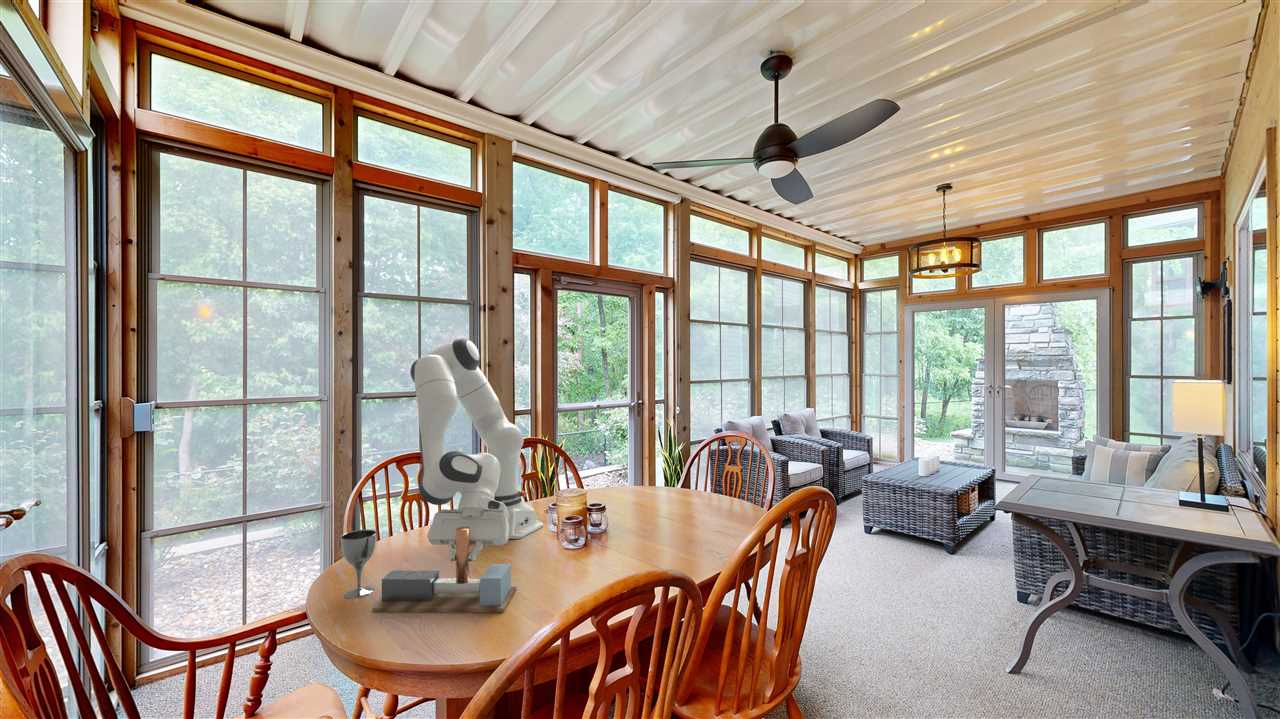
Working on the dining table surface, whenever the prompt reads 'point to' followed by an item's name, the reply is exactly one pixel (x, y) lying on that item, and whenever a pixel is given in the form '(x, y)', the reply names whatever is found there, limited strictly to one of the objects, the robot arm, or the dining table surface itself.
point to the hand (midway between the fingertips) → (462, 560)
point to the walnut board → (445, 604)
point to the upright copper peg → (459, 569)
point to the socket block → (495, 584)
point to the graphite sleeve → (408, 586)
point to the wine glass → (358, 557)
